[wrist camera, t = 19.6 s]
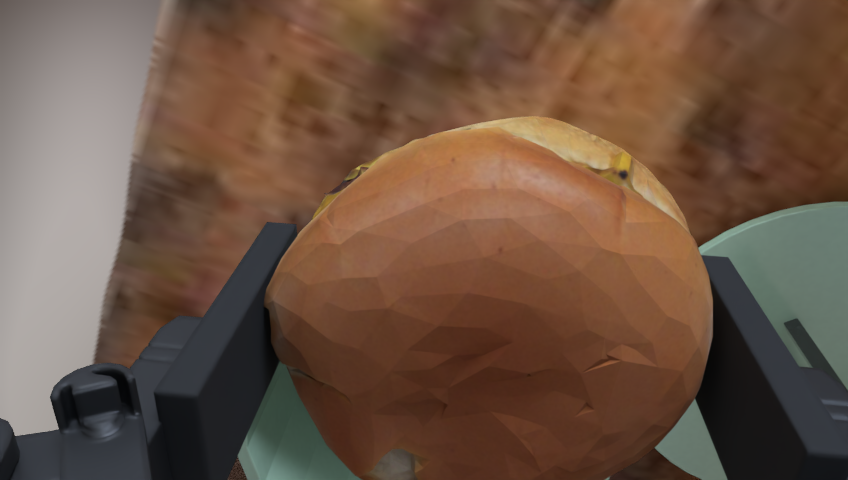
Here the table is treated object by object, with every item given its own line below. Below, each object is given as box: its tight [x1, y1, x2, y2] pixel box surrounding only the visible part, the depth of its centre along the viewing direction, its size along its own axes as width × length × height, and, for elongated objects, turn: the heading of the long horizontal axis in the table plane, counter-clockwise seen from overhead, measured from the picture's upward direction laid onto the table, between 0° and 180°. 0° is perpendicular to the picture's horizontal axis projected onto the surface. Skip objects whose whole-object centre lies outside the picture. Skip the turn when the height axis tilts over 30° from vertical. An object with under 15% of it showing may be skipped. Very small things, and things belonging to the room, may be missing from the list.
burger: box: [264, 116, 713, 480], centre depth 15 cm, size 10×9×5 cm
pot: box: [238, 361, 610, 480], centre depth 34 cm, size 17×17×8 cm
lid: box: [654, 202, 848, 480], centre depth 32 cm, size 18×18×9 cm
